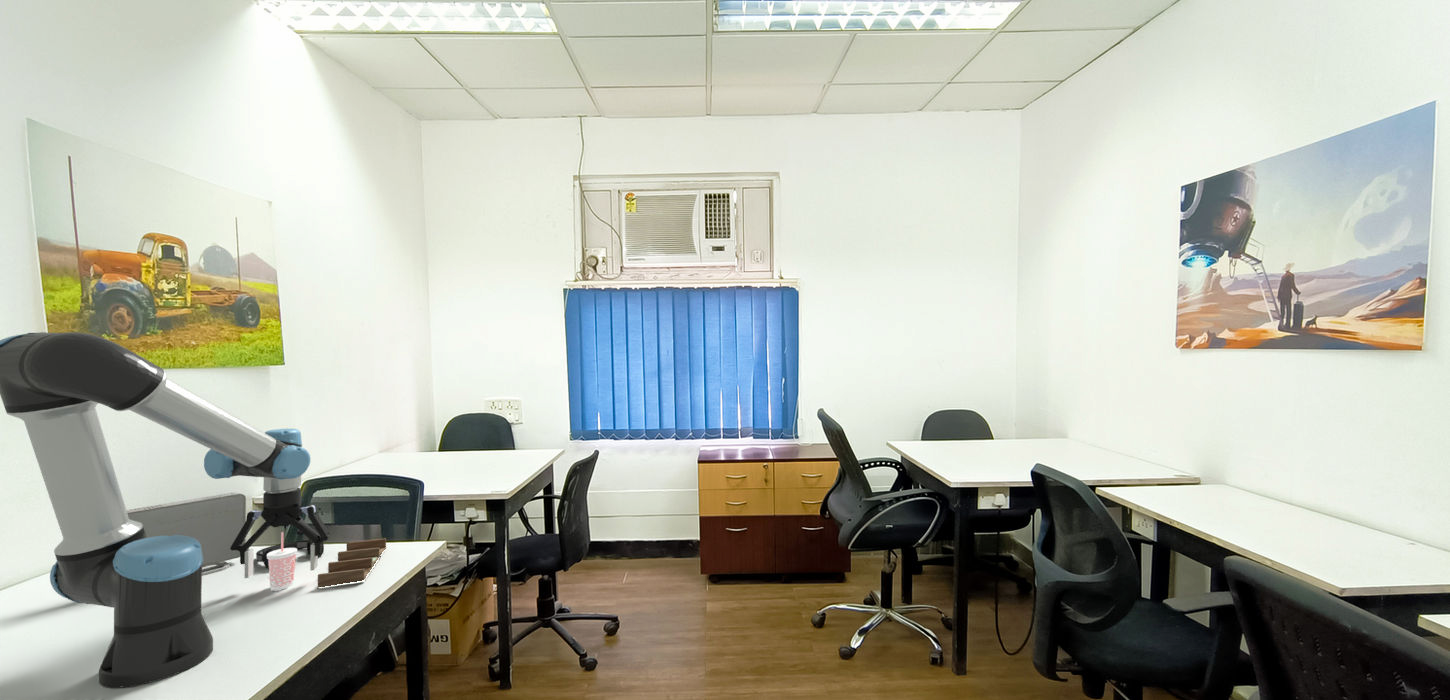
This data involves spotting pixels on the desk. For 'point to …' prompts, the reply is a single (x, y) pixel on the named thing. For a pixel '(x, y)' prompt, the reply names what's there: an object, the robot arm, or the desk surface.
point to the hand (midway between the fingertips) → (282, 572)
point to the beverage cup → (281, 567)
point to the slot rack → (353, 562)
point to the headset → (262, 554)
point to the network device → (199, 524)
